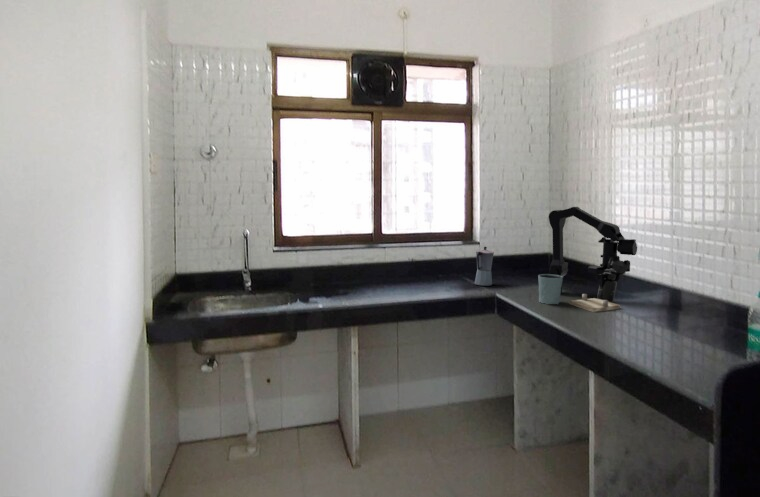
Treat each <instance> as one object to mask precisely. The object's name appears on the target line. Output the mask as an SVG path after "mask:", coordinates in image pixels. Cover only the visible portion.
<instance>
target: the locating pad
mask: <svg viewBox="0 0 760 497" xmlns="http://www.w3.org/2000/svg"><path fill="white" fill-rule="evenodd" d="M569 305H571V306H574V307H577V308H580V309H584V310H585V311H590V312H593V313H596V312H605V311H612V310H613V311H614V310H619V309H620V310H621V305H620V304H618V303H614V302H612V301H608V300H601V299H598V298H596V297H593V298H588V294H587V293H582V294H581V299H574V300H573V299H572V300H569Z"/></svg>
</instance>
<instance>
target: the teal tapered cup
mask: <svg viewBox="0 0 760 497" xmlns="http://www.w3.org/2000/svg"><path fill="white" fill-rule="evenodd" d="M537 277H538V278H537V279H538V303H539V302H541V303H546V304H557V305H559V304H560V301H561V294H562V292H561V286H562V287H563V279H564V276H563V277H562V276H560V275H553V274H548V273H541V274H538V275H537ZM560 293H561V294H560ZM541 303H540V304H541ZM546 304H545V305H546Z"/></svg>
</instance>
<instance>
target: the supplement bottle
mask: <svg viewBox="0 0 760 497" xmlns="http://www.w3.org/2000/svg"><path fill="white" fill-rule="evenodd" d="M605 274H607V275H606V276H605V278H604V285H603V288H600V285H599V284H598V285H599V286H598V291H597V299H601V300H608V302H613V301H614V299H615V295H616V292H617V284H618V283H617V282H616V280H615V279H616V274H613V273H611V272H608V271H605Z"/></svg>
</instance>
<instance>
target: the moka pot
mask: <svg viewBox="0 0 760 497" xmlns="http://www.w3.org/2000/svg"><path fill="white" fill-rule="evenodd" d="M487 248H488V247H487V246H483V249H481V250H476V253H475V256H476V269H477V270H476V274H475V279H474V284H475V285H477V286H482V287H483V286H487V287H488V286H492V285H493V280H492V279H493V278H492V266H493V259H494V251H491V250H487Z"/></svg>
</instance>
